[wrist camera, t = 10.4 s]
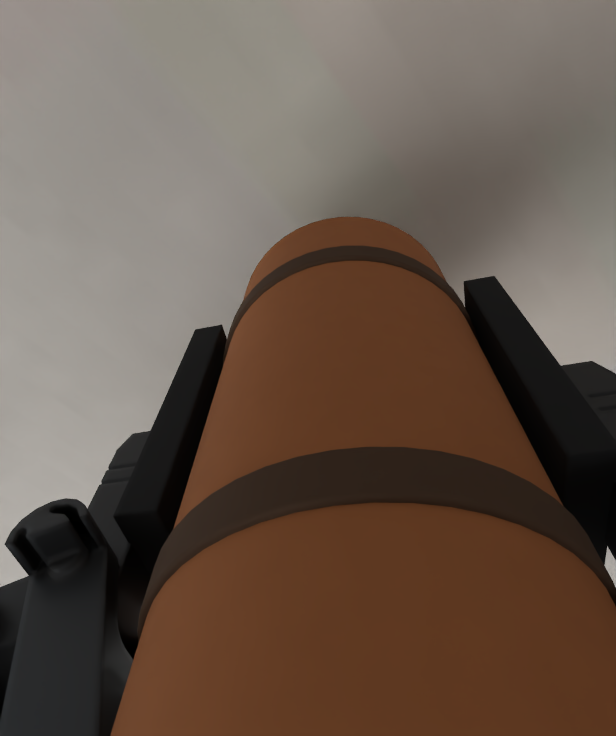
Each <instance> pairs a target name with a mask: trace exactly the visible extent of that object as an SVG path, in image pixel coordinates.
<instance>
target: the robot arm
mask: <svg viewBox="0 0 616 736" xmlns="http://www.w3.org/2000/svg"><path fill="white" fill-rule="evenodd" d="M464 295H465V309H466V311H467V312H468V314H469V316H470V319H471V321H472V323H473V325H474V327H475V330H476V334H477V337H478V341H479V345H480V347H481V349H482V351H483V353H484V355H485V357H486V359H487V360H488V362H489V364H490V366H491V368H492V370H493V372H494V374H495V376H496V378H497V380H498V382H499V383H500V385H501V387H502V389H503V391H504V393H505V395H506V397H507V399H508V401H509V403H510V405H511V407H512V408H513V410H514V412H515V414H516V416H517V418H518V420H519V422H520V424H521V426H522V428H523V430H524V431H525V433H526V435H527V437H528V439H529V441H530V443H531V445H532V447H533V449H534V451H535V453H536V454H537V456H538V458H539V460H540V462H541V464H542V466H543V468H544V470H545V472H546V474H547V476H548V478H549V479H550V481H551V483H552V485H553V487H554V489H555V491H556V493H557V495H558V497H559V499H560V501H561V502H562V504H563V506H564V507H565V508H566V509H567V510H568V511H569V512H570V513H571V514H572V515H573V516H574V517H575V518H576V520H577V521H578V522H579V524H580V525H581V526H582V528H583V529H584V531H585V532H586V533H587V535H588V536H589V538H590V540H591V542H592V544H593V546H594V548H595V549H596V551H597V553H598V555H599V557H600V559H601V560H602V562H603V564H605V557H606V551H607V546H608V547H609V549H610V551H611V553H612V555H613V556H614V558H615V560H616V374H615V373H613V372H612V371H610V370H608V369H606V368H604V367H602V366H600V365H598V364H597V363H595V362H593V361H589V362H582V363H576V364H569V365H563V366H560V364H559V363H558V362H557V360H556V359H555V358H554V356H553V355H552V354H551V352H550V351H549V350H548V348H547V347H546V345H545V344H544V343H543V341H542V340H541V339H540V337H539V336H538V335H537V333H536V332H535V331H534V329H533V328H532V326H531V325H530V324H529V322H528V321H527V320H526V318H525V317H524V316H523V314H522V313H521V312H520V310H519V309H518V307H517V306H516V305H515V303H514V302H513V301H512V299H511V298H510V297H509V295H508V294H507V293H506V291H505V290H504V288H503V287H502V286H501V284H500V283H499V282H498V280H497V279H496V278H495V276H491V277H485V278H480V279H474V280H469V281H464ZM226 341H227V339H226V336H225V333H224V330H223V327H222V325H218V326H213V327H207V328H202V329H196V330H195V331H194V334H193V336H192V338H191V341H190V343H189V345H188V347H187V350H186V352H185V354H184V356H183V359H182V361H181V363H180V366H179V368H178V370H177V372H176V375H175V377H174V379H173V381H172V384H171V386H170V388H169V390H168V393H167V395H166V397H165V400H164V402H163V404H162V406H161V409H160V411H159V413H158V415H157V418H156V420H155V422H154V425H153V427H152V429H151V431H148V432H142V433H135V434H132V435H131V436H130V437H129V438H128V439H127V440H126V441H125V442H124V443H123V444H122V446H121V447H120V448H119V449H118V450H117V451H116V453H115V455H114V457H113V459H112V461H111V463H110V465H109V470H107V471H106V473H105V475H104V477H103V479H102V481H101V482H102V485H99V487H98V489H97V491H96V493H95V495H94V497H93V499H92V501H91V503H90V505H89V507H88V509H87V508H86V506H85V505H84V504H83V503H82V502H80V501H79V500H77V499H61V500H57V501H53V502H50V503H48V504H46V505H44V506H42V507H39V508H37V509H36V510H34V511H33V512H31V513H30V514H29V515H27V516H26V517H25V518H23V519H22V520H21V521H20V522H19V523H18V524H17V526H16V527H15V528H14V529H13V530H12V531H11V533H10V535H9V537H8V539H7V541H6V543H5V545H6V547H7V548H8V549H9V551H10V552H11V553H12V554H13V556H14V557H15V558H16V560H17V561H18V562H19V563H20V565H21V566H22V567H23V569H24V570H25V571H26V572H27V574H28V575H29V576H27V577H25V578H23V579H20V580H18V581H15V582H12V583H10V584H7V585H5V586H2V587H0V736H110V735H111V732H112V728H113V725H114V722H115V718H116V715H117V712H118V709H119V705H120V702H121V699H122V696H123V692H124V689H125V686H126V682H127V679H128V676H129V673H130V669H131V666H132V663H133V659H134V656H135V653H136V650H137V646H138V643H139V642H138V632H137V628H138V621H139V614H140V609H141V606H142V603H143V600H144V597H145V594H146V591H147V588H148V584H149V581H150V578H151V575H152V572H153V569H154V566H155V563H156V561H157V558H158V555H159V553H160V550H161V548H162V546H163V545H164V543H165V541H166V540H167V538H168V537H169V535H170V533H171V532H172V530H173V529H174V525H175V522H176V519H177V515H178V512H179V509H180V506H181V502H182V499H183V496H184V493H185V489H186V486H187V483H188V479H189V476H190V473H191V470H192V466H193V463H194V460H195V456H196V453H197V450H198V447H199V443H200V440H201V437H202V434H203V430H204V427H205V424H206V420H207V417H208V414H209V411H210V407H211V404H212V401H213V398H214V394H215V391H216V388H217V384H218V381H219V378H220V375H221V371H222V368H223V356H224V351H225V346H226Z"/></svg>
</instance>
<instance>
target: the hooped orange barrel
mask: <svg viewBox="0 0 616 736" xmlns="http://www.w3.org/2000/svg"><path fill="white" fill-rule="evenodd" d="M137 632H138V642H139V643H138V646H137V650H136V653H135V656H134V659H133V663H132V666H131V669H130V673H129V676H128V679H127V682H126V686H125V689H124V692H123V696H122V699H121V702H120V705H119V709H118V712H117V715H116V718H115V722H114V725H113V728H112V732H111V735H110V736H616V588H615V585H614V583H613V581H612V579H611V577H610V575H609V573H608V572H607V570H606V568H605V566H604V564H603V562H602V560H601V559H600V557H599V555H598V553H597V551H596V549H595V548H594V546H593V544H592V542H591V540H590V538H589V536H588V535H587V533H586V532H585V531H584V529H583V528H582V526H581V525H580V524H579V522H578V521H577V520H576V518H575V517H574V516H573V515H572V514H571V513H570V512H569V511H568V510H567V509H566V508H565V507H564V506H563V504H562V502H561V501H560V499H559V497H558V495H557V493H556V491H555V489H554V487H553V485H552V483H551V481H550V479H549V478H548V476H547V474H546V472H545V470H544V468H543V466H542V464H541V462H540V460H539V458H538V456H537V454H536V453H535V451H534V449H533V447H532V445H531V443H530V441H529V439H528V437H527V435H526V433H525V431H524V430H523V428H522V426H521V424H520V422H519V420H518V418H517V416H516V414H515V412H514V410H513V408H512V407H511V405H510V403H509V401H508V399H507V397H506V395H505V393H504V391H503V389H502V387H501V385H500V383H499V382H498V380H497V378H496V376H495V374H494V372H493V370H492V368H491V366H490V364H489V362H488V360H487V359H486V357H485V355H484V353H483V351H482V349H481V347H480V345H479V341H478V337H477V334H476V330H475V327H474V325H473V323H472V321H471V319H470V316H469V314H468V312H467V311H466V309H465V307H464V305H463V303H462V301H461V300H460V299H459V297H458V296H457V294H456V293H455V291H454V290H453V289H452V288H451V286H450V285H449V284H448V283H447V282H446V280H445V278H444V276H443V274H442V272H441V270H440V268H439V266H438V265H437V263H436V262H435V260H434V259H433V257H432V256H431V254H430V253H429V252H428V251H427V250H426V249H425V248H424V247H423V246H422V244H420V243H419V242H418V241H417V240H415V239H414V238H413V237H412V236H410V235H409V234H407V233H405V232H404V231H402V230H400V229H399V228H397V227H394V226H392V225H389V224H387V223H385V222H381V221H377V220H373V219H368V218H361V217H337V218H330V219H324V220H321V221H317V222H313V223H311V224H308V225H306V226H303V227H301V228H299V229H297V230H295V231H293V232H292V233H290V234H288V235H287V236H285V237H284V238H283V239H281V240H280V241H279V242H277V243H276V244H275V245H274V246H273V247H272V248H271V249H270V250H269V251H268V252H267V253H266V254H265V255H264V257H263V258H262V259H261V261H260V262H259V264H258V265H257V267H256V269H255V270H254V272H253V274H252V276H251V278H250V281H249V284H248V287H247V290H246V293H245V296H244V299H243V302H242V304H241V306H240V308H239V309H238V311H237V313H236V315H235V317H234V320H233V323H232V326H231V328H230V331H229V334H228V338H227V341H226V346H225V351H224V356H223V368H222V371H221V375H220V378H219V381H218V384H217V388H216V391H215V394H214V398H213V401H212V404H211V407H210V411H209V414H208V417H207V420H206V424H205V427H204V430H203V434H202V437H201V440H200V443H199V447H198V450H197V453H196V456H195V460H194V463H193V466H192V470H191V473H190V476H189V479H188V483H187V486H186V489H185V493H184V496H183V499H182V502H181V506H180V509H179V512H178V515H177V519H176V522H175V525H174V529H173V530H172V532H171V533H170V535H169V537H168V538H167V540H166V541H165V543H164V545H163V546H162V548H161V550H160V553H159V555H158V558H157V561H156V563H155V566H154V569H153V572H152V575H151V578H150V581H149V584H148V588H147V591H146V594H145V597H144V600H143V603H142V606H141V609H140V614H139V621H138V628H137Z"/></svg>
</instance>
